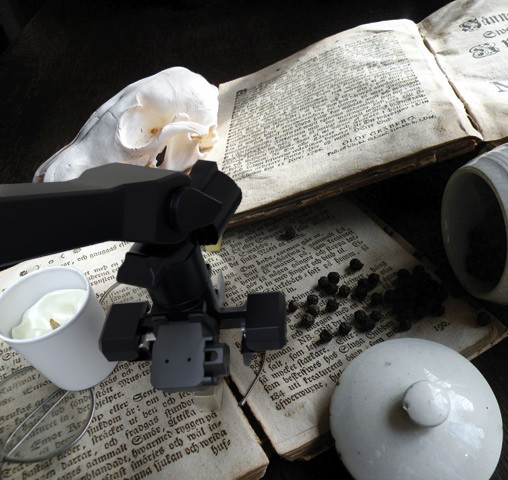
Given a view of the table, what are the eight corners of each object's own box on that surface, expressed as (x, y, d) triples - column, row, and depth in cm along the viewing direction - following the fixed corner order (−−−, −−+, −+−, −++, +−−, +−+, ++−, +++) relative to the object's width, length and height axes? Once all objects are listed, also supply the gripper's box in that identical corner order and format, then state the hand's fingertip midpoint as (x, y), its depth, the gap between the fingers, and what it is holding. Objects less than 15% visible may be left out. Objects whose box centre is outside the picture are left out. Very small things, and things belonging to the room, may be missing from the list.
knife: (221, 410, 52) (214, 396, 50) (199, 412, 52) (191, 397, 50) (233, 283, 65) (228, 267, 62) (215, 285, 65) (210, 268, 62)
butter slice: (206, 252, 69) (201, 235, 67) (212, 211, 76) (208, 194, 73) (220, 251, 69) (215, 234, 67) (225, 210, 76) (221, 193, 73)
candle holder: (29, 397, 55) (-31, 341, 46) (64, 326, 61) (17, 265, 53) (112, 398, 54) (66, 341, 45) (138, 326, 61) (102, 264, 52)
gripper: (48, 365, 39) (117, 440, 50) (276, 348, 39) (293, 427, 50) (88, 263, 46) (139, 348, 58) (278, 249, 46) (292, 337, 58)
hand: (213, 365), depth 55 cm, fingers open, 8 cm apart
